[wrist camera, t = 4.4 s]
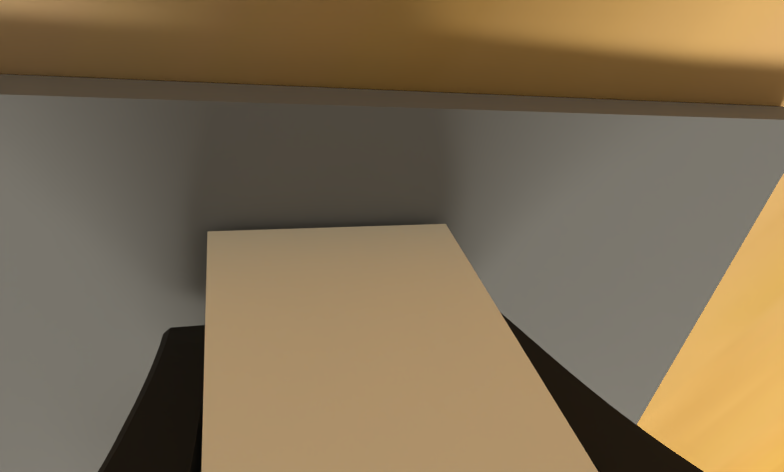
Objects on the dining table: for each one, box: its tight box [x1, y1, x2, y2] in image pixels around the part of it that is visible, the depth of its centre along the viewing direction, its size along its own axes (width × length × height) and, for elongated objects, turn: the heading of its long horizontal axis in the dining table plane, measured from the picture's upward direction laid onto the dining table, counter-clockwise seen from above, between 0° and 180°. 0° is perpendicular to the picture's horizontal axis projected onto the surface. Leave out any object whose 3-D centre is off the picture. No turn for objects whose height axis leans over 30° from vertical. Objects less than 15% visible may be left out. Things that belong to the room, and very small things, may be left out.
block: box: [201, 224, 598, 472], centre depth 9 cm, size 4×5×5 cm
